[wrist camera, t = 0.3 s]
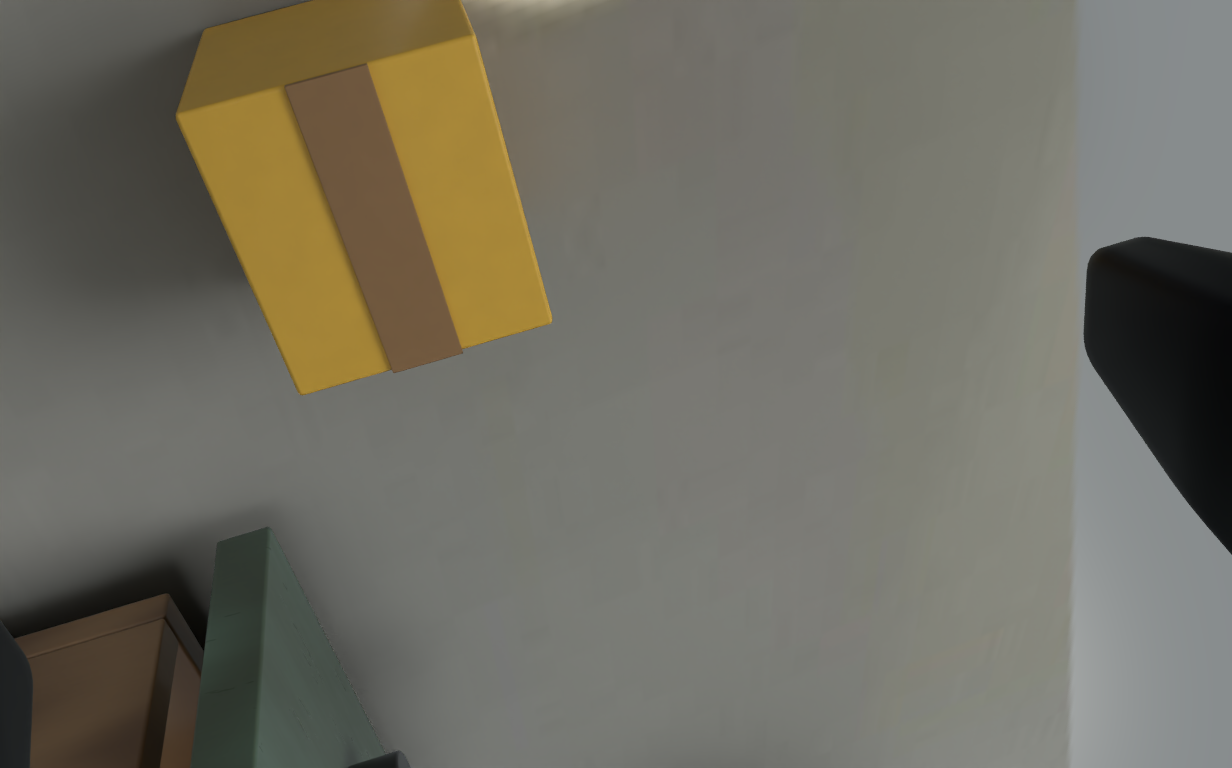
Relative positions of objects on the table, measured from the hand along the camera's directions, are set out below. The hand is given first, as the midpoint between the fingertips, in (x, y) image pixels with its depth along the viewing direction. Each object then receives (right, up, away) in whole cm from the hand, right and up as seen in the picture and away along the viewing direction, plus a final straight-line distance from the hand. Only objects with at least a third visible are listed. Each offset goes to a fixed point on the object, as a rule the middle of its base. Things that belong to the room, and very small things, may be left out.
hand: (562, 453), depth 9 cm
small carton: (-4, +5, +12) cm, 14 cm away
